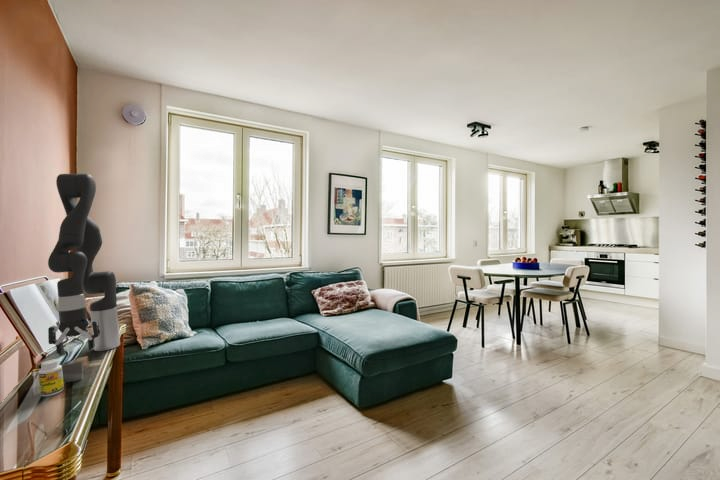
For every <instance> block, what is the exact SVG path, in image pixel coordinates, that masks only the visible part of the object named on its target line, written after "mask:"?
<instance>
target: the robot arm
mask: <svg viewBox="0 0 720 480" xmlns="http://www.w3.org/2000/svg"><path fill="white" fill-rule="evenodd" d="M55 182H56V183H55V184H56V188H57V192H58V194H59V198H60V201H61V204H62V206H63V208H64V211H65V215H66V216H65V217H64V218H63V220H62V222H61V224H60V227H59V232H58V238H57V239H58V240H57V242H56V244H55V246H54V248H53V249H52V251H51V253H50V254H49V257H48V260H47V264H48V266H47V267H48V268H49V269H50V271H51V272H53V273H56V274H58V273H60V274H61V273H70V272H72V273H71V276H70V277H67V278H63V279H60V280H58V281H57V297H58V298H57V299H58V301H57V302H58V303H57V310H58V318H59V325H51V326H50V327H48V329H47V330H48V335H47V336H48V340H47V341H48V345H55V346H56V347H55V348H56V354H58V355H59V356H62V355H64V354H65V349H64V347H65V345H64V343H63V341H64V340H65V339H66V338H67V337H73V336H81V335H82V336H83V337H85V338H86V339H87V345H88V351H92V350H94V351H95V352H103V351H104V352H105V351H108V350H109V351H110V350H112V349H115V348H118V347H119V346H121V337H120V325H119V316H118V314H119V313H118V307H117V306H118V304H117V300H118V299H117V282H116V280H117V278H116V275H115V272H113V271H111V270H108V271H107V270H106V271H96V272H94V270H93V263H94V261H95V258H96V257H97V255H98V253H99V251H100V250H101V247H102V244H103V237H102V234H101V229H100V227H99V225H98V224H97V223H96V222H95V221H94V220H93V219H92V218H91V217H90V216H89V214H90V211H91V208H92V205H93V202H94V198H95V195H96V190H97V183H96V180H95V178H94V177H93V176H92V175H91V174H88V173H60V174H58V175H57V177H56V181H55ZM78 198H79V200H78V201H77V199H78ZM72 250H75V251H72ZM85 293H86V294H87V295H96V294H104V296H103V297H102V298H101V299H99V300H96V301H93V302H92V303H90V305H89V310H90V311H89V312H90V320H91V321H89V320H88V315H87V303H86V297H85ZM89 326H90V328H91V331H92V332H91V331H90V330H89V329H88V327H89ZM58 330H59V331H60V332H61V334H60V335H59V337H58V339H57V332H58Z"/></svg>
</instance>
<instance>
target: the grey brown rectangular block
mask: <svg viewBox="0 0 720 480" xmlns="http://www.w3.org/2000/svg"><path fill="white" fill-rule="evenodd" d="M89 362H90V360H89V356H88V355H84V356H80V357H79V356H78V357H77V358H76V359H75V360H74V361H73V362H71V363H70V362H69V363H64V364H60V365H61V366H62V372H63V383H64V384H65V383H71V382H78V381H80V380H81V381H82V380H83V379H84V377H85V376H84V375H85V374H84V373H85V371H86V370H87V369H88V368H89V367H90V363H89Z"/></svg>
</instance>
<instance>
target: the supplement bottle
mask: <svg viewBox="0 0 720 480" xmlns="http://www.w3.org/2000/svg"><path fill="white" fill-rule="evenodd" d="M61 365H62V364H59V360H58V359H57V358H53V359H49V360H46V361H42V362H41V363H40V367H41V368H40V369H39V370H38V380H39V382H38V383H39V384H38V385H39V391H40V396H41V397H51V396H54V395H57V394H60V393H61V392H62V391H63V390H64V388H65V386H64V384H65V383H63V372H62V366H61ZM63 392H64V391H63Z"/></svg>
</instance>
